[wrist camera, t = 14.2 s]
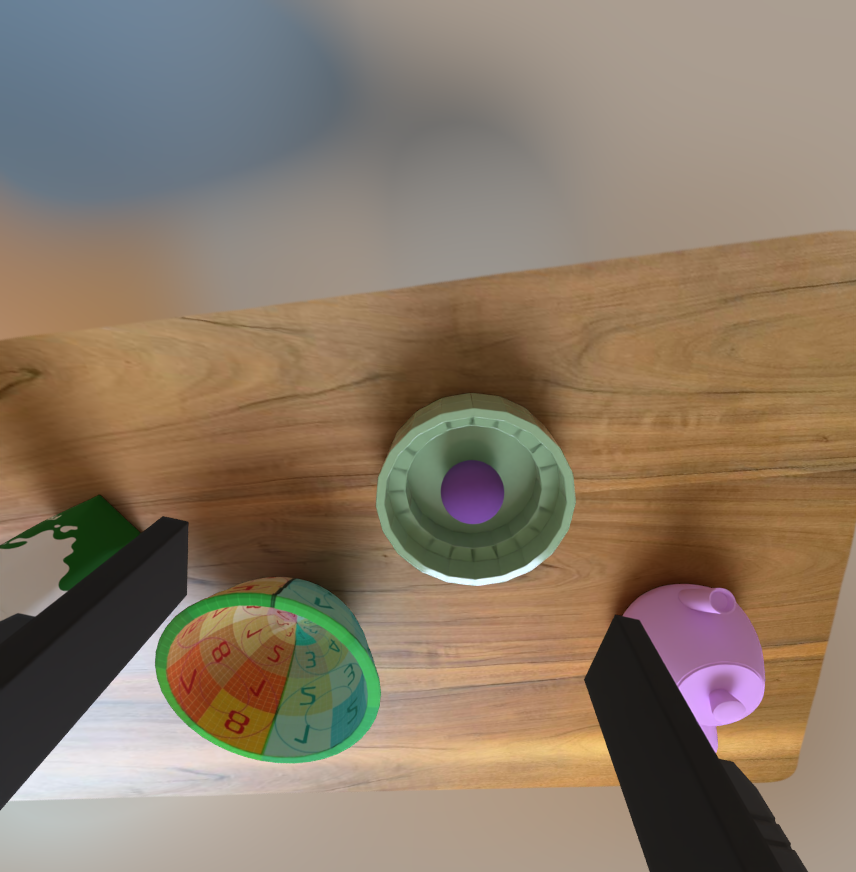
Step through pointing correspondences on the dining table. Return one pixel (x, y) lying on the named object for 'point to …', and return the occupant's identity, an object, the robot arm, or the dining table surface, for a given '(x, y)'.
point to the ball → (472, 492)
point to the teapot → (705, 650)
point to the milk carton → (59, 555)
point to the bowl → (271, 671)
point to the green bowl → (521, 475)
